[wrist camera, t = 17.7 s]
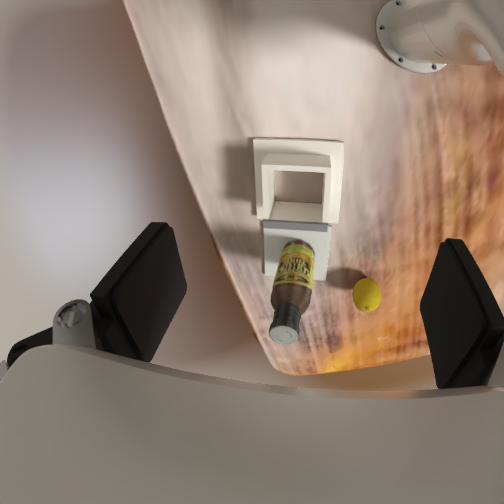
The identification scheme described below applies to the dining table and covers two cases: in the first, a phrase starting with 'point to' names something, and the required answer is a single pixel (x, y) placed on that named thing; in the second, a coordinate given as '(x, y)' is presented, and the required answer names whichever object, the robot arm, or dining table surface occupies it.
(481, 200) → the dining table surface
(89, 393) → the robot arm
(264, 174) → the caddy
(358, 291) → the lemon
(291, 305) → the sauce bottle
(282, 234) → the mat
